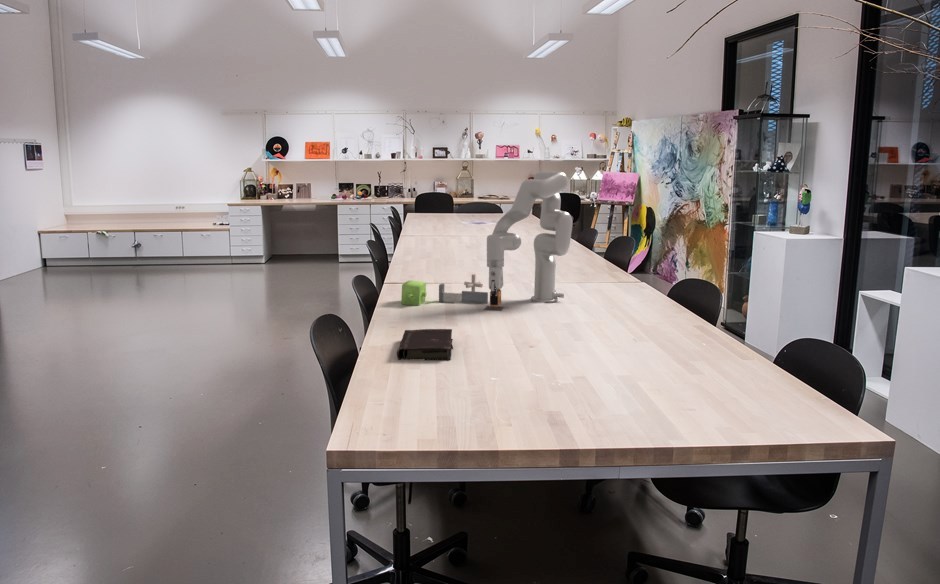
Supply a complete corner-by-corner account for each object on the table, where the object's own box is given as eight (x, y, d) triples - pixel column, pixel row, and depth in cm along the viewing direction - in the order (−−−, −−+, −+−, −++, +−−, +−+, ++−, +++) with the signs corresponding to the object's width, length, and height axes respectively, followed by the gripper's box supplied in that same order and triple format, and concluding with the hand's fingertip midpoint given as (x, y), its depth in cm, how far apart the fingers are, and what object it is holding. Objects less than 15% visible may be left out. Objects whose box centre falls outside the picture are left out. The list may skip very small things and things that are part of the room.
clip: (501, 303, 315) (501, 289, 313) (498, 306, 309) (498, 292, 308) (492, 303, 315) (492, 289, 314) (489, 306, 310) (489, 292, 309)
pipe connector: (475, 297, 336) (475, 277, 335) (458, 295, 342) (459, 274, 340) (487, 294, 344) (487, 274, 342) (471, 292, 350) (471, 272, 348)
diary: (396, 362, 234) (396, 347, 233) (403, 342, 259) (403, 329, 258) (453, 361, 234) (452, 347, 233) (454, 342, 259) (454, 328, 258)
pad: (504, 307, 315) (504, 307, 315) (501, 311, 307) (501, 310, 307) (486, 306, 317) (486, 305, 317) (483, 310, 309) (483, 309, 309)
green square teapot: (419, 309, 313) (420, 288, 311) (398, 306, 315) (398, 286, 313) (430, 300, 330) (431, 280, 328) (410, 298, 332) (410, 278, 330)
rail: (488, 302, 325) (488, 285, 324) (486, 305, 320) (486, 287, 319) (441, 300, 330) (441, 283, 329) (438, 302, 325) (438, 285, 324)
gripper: (500, 266, 299) (500, 308, 303) (507, 259, 316) (507, 299, 320) (482, 266, 301) (483, 307, 305) (490, 259, 317) (491, 298, 321)
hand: (495, 302), depth 312 cm, fingers closed on clip, 5 cm apart
